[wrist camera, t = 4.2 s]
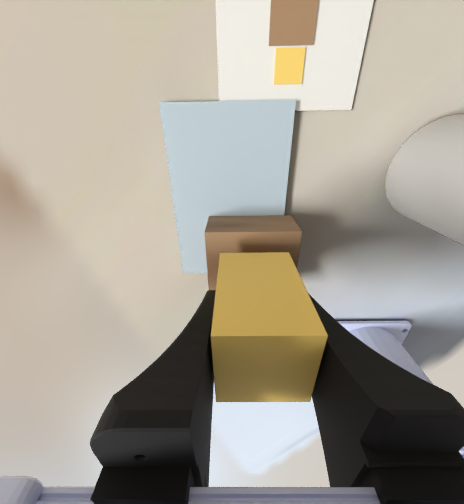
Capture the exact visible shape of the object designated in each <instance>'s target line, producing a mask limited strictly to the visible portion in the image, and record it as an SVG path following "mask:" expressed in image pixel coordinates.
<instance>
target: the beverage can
mask: <svg viewBox="0 0 464 504" xmlns="http://www.w3.org/2000/svg"><path fill="white" fill-rule="evenodd" d="M385 192H386V197H387V199H388V202H389V203H390V205H391V206H392V207H393V209H394V210H396V211H397V212H398V213H400V214H402V215H404V216H406V217H408V218H410V219H412V220H414V221H416V222H418V223H420V224H422V225H424V226H426V227H428V228H430V229H432V230H434V231H436V232H438V233H440V234H442V235H444V236H446V237H448V238H450V239H452V240H454V241H456V242H458V243H460V244H462V245H464V114H456V115H450V116H446V117H443V118H440V119H437V120H435V121H433V122H431V123H429V124H427V125H425V126H424V127H422V128H421V129H419V130H418V131H417V132H415V133H414V134H413V135H412V136H411V137H410V138H408V139H407V140H406V141H405V143H404V144H403V145H402V146H401V147H400V149H399V150H398V151H397V153H396V154H395V156H394V158H393V159H392V161H391V164H390V166H389V168H388V171H387V175H386V180H385Z"/></svg>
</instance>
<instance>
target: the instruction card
mask: <svg viewBox="0 0 464 504" xmlns="http://www.w3.org/2000/svg"><path fill="white" fill-rule="evenodd" d="M373 1H374V0H216V27H217V57H218V86H219V101H264V100H296V105H295V111H323V110H351V109H352V104H353V99H354V94H355V89H356V84H357V80H358V75H359V70H360V65H361V60H362V55H363V50H364V45H365V40H366V36H367V31H368V26H369V21H370V16H371V11H372V6H373Z"/></svg>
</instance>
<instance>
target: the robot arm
mask: <svg viewBox="0 0 464 504" xmlns="http://www.w3.org/2000/svg"><path fill="white" fill-rule="evenodd" d="M215 293H216V290H208V291H207V293H206V295H205V297H204V299H203V301H202V303H201V304H200V306H199V308H198V309H197V311H196V313H195V314H194V316H193V317H192V319H191V320H190V322H189V323H188V324H187V326H186V327H185V328H184V330H183V331H182V332H181V334H180V335H179V336H178V337H177V338H176V340H175V341H174V342H173V343H172V344H171V345H170V346H169V347H168V348H167V350H166V351H165V352H164V353H163V354H162V355H161V356H160V357H159V358H158V359H157V360H156V361H155V362H153V363H152V364H151V365H150V366H149V367H148V368H147V369H146V370H145V371H144V372H142V373H141V374H140V375H139V376H138V377H136V378H135V379H134V380H133V381H131V382H130V383H129V384H128V385H126V386H125V387H124V388H122V389H121V390H120V391H119V392H117V393H116V394H114V395H113V397H112V398H111V400H110V402H109V404H108V405H107V407H106V409H105V411H104V412H103V414H102V416H101V418H100V420H99V423H98V425H97V427H96V429H95V431H94V434H93V436H92V438H91V441H90V446H91V448H92V451H93V453H94V454H95V456H96V457H97V458H98V460H99V461H100V463H101V464H102V466H103V468H102V471H101V473H100V476H99V478H98V481H97V483H96V486H95V487H43V484H42V483H41V482H40V481H39V480H38V479H36V478H32V477H28V476H0V504H464V408H463V407H462V406H461V405H460V403H459V402H458V401H457V400H456V399H455V398H454V396H453V395H452V394H451V393H449V392H447V391H445V390H443V389H441V388H439V387H437V386H435V385H433V384H432V382H431V381H430V380H429V379H428V377H427V376H426V375H425V374H424V372H423V371H422V370H421V368H420V367H419V366H418V365H417V363H416V362H415V361H414V360H413V358H412V357H411V356H410V355H409V353H408V352H407V351H406V350H405V348H404V347H403V346H402V344H403V342H404V340H405V338H406V336H407V334H408V332H409V331H410V329H411V326H412V325H411V323H410V322H409V321H336V320H335V319H334V318H333V317H332V316H331V315H330V314H328V313H327V312H326V311H325V310H324V309H323V308H322V307H321V306H320V305H319V304H318V303H317V302H316V301H315V300H314V299H313V298H312V297H311V295H310V294H309V293H308V294H309V296H310V298H311V301H312V303H313V305H314V307H315V309H316V311H317V313H318V316H319V318H320V320H321V322H322V324H323V326H324V328H325V331H326V333H327V335H328V337H327V341H326V344H325V348H324V352H323V355H322V359H321V363H320V366H319V370H318V374H317V378H316V381H315V385H314V389H313V392H312V399H313V403H314V407H315V412H316V416H317V421H318V425H319V430H320V435H321V440H322V445H323V449H324V455H325V460H326V466H327V471H328V476H329V482H330V487H208V484H209V462H210V440H211V420H212V402H213V385H214V370H213V358H212V346H211V329H212V320H213V311H214V302H215Z"/></svg>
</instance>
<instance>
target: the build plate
mask: <svg viewBox="0 0 464 504" xmlns="http://www.w3.org/2000/svg"><path fill="white" fill-rule="evenodd" d="M295 105H296V100H264V101H204V102H159V107H160V114H161V121H162V128H163V135H164V142H165V149H166V156H167V163H168V170H169V177H170V184H171V191H172V198H173V205H174V212H175V220H176V227H177V234H178V241H179V248H180V255H181V262H182V269H183V273H208V272H207V260H206V247H205V234H204V232H205V229H206V225H207V222H208V218H209V216H270V215H284V212H285V202H286V193H287V183H288V173H289V163H290V154H291V144H292V134H293V125H294V115H295Z"/></svg>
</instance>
